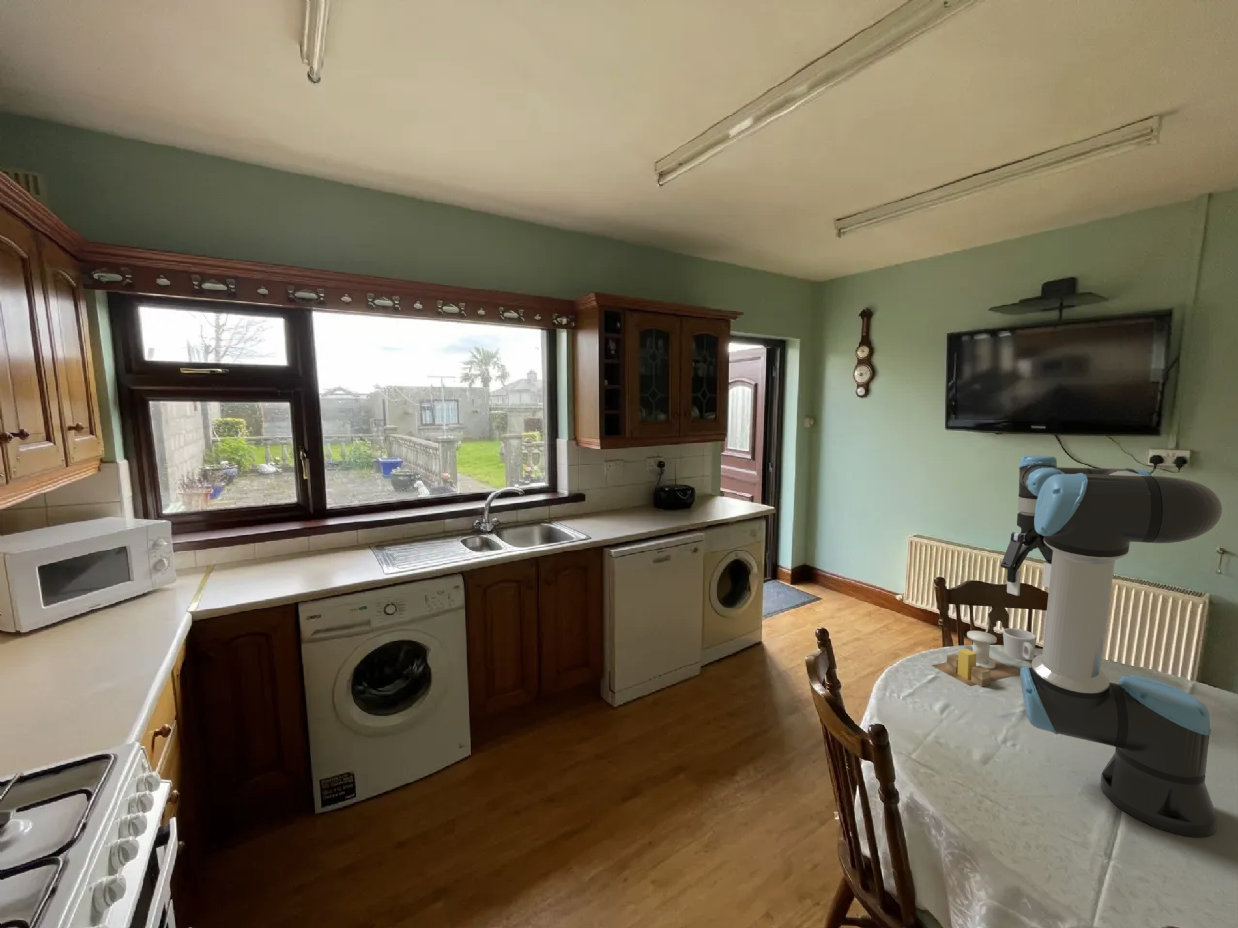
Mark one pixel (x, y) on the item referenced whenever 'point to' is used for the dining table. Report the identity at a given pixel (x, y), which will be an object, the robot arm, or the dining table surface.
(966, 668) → the yellow rectangular block
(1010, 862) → the dining table surface
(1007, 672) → the board
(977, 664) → the knob
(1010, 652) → the cup
